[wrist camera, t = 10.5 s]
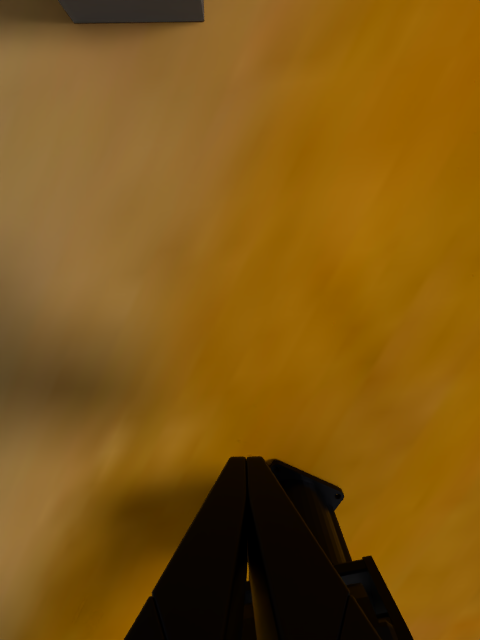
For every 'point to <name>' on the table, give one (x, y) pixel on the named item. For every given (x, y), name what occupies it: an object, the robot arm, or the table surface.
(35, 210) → the table surface
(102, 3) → the camera body
